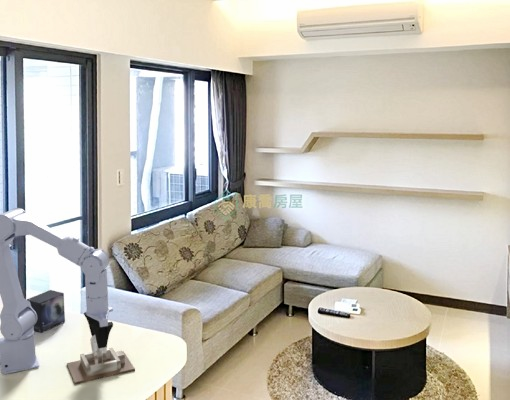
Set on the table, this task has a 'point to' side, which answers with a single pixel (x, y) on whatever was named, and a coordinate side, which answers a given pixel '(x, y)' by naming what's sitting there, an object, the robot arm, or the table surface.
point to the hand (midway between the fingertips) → (99, 341)
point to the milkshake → (98, 352)
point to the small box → (48, 310)
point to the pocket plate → (99, 366)
